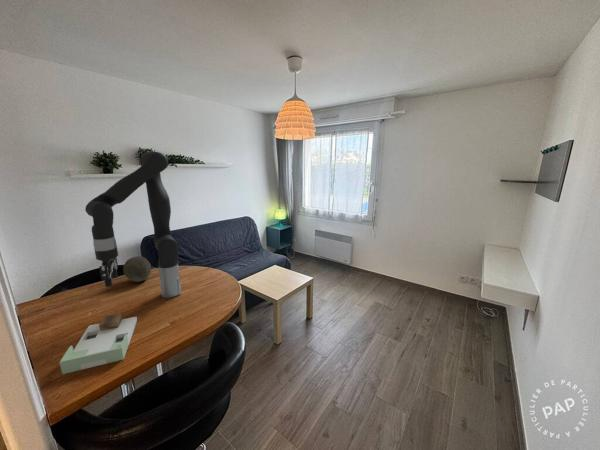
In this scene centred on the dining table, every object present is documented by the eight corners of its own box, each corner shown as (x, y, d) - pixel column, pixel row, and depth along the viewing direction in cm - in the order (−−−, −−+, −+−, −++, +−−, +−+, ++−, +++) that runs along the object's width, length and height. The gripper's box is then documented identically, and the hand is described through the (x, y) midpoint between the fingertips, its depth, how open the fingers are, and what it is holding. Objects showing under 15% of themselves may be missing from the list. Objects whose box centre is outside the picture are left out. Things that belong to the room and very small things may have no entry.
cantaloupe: (157, 275, 150) (154, 253, 146) (144, 286, 136) (140, 262, 132) (134, 275, 149) (131, 253, 145) (118, 286, 135) (114, 262, 131)
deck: (137, 320, 107) (135, 310, 106) (123, 359, 86) (121, 347, 85) (89, 329, 100) (87, 319, 99) (62, 374, 79) (59, 362, 78)
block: (121, 319, 104) (120, 313, 104) (118, 327, 99) (117, 321, 98) (105, 322, 102) (103, 316, 101) (100, 331, 97) (99, 324, 96)
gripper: (111, 252, 96) (117, 288, 100) (121, 241, 108) (126, 273, 112) (88, 254, 93) (95, 291, 97) (100, 243, 105) (106, 276, 109)
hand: (111, 281), depth 105 cm, fingers open, 7 cm apart
